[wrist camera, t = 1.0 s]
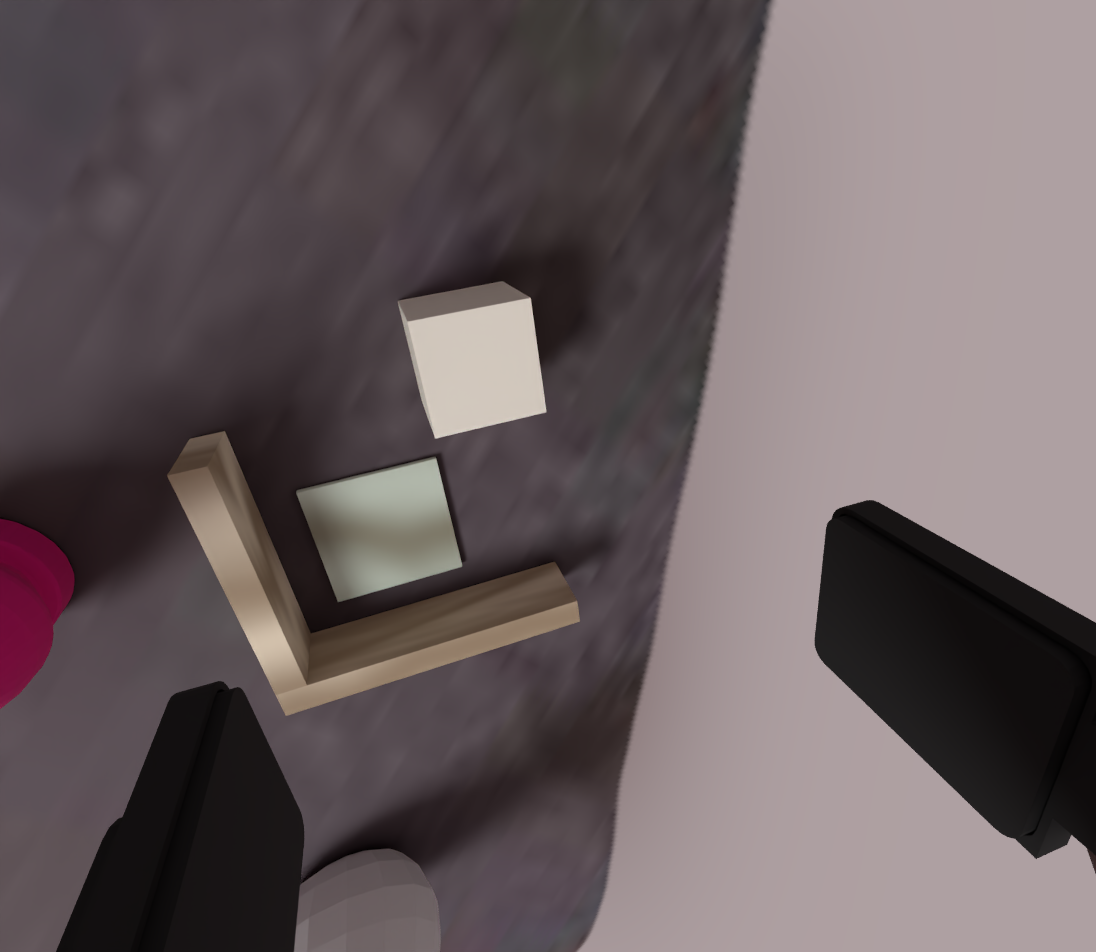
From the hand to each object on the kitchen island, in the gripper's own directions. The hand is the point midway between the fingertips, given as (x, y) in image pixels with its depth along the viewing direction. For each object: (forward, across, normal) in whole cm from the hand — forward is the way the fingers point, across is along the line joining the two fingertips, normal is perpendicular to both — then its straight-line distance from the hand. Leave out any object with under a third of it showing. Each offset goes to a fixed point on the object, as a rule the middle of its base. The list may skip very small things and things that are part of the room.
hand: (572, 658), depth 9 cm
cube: (+22, -2, 0) cm, 22 cm away
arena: (+22, +3, +8) cm, 24 cm away
